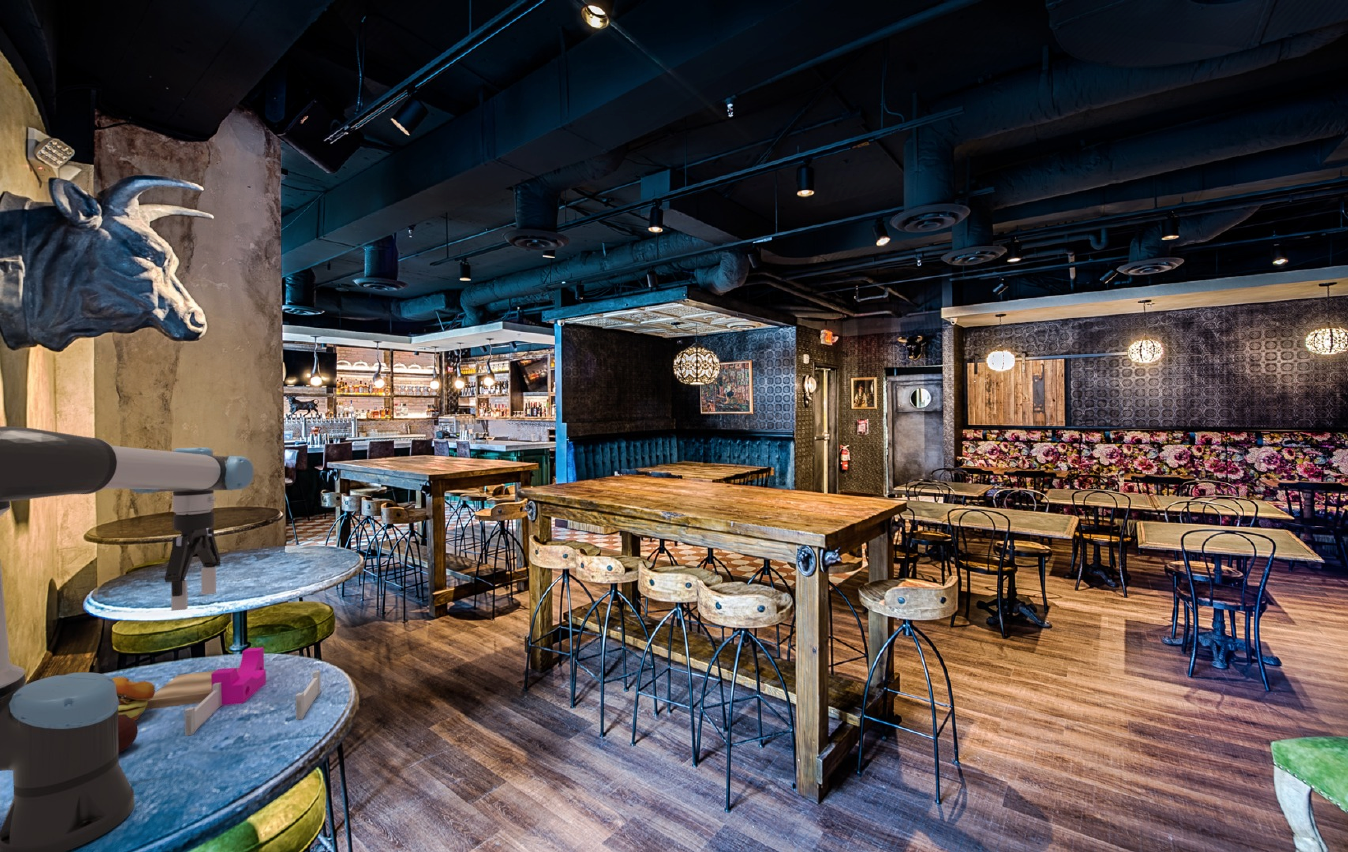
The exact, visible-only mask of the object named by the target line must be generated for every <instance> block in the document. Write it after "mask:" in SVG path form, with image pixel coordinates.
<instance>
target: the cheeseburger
mask: <svg viewBox="0 0 1348 852" xmlns="http://www.w3.org/2000/svg"><path fill="white" fill-rule="evenodd" d="M111 679H112V680H113V681H114V682H115V685H116V692H117V696H118V701H119V706H118V715H125V716H127V717H130V718H132V719H134V721H135V722H136V720H138V719H139V718H140V716H141V715H142V714H143V713H144V711H145V710H146V709H145V708H146V706H147V703H148V700H150V699H152V698H153V696H154V694H155V693H156V689H155V685H154V684H153V683H152V682H149V681H145V680H143V681H142V680H141V681H137V682H135V681H133V680H130V679H129V678H127V677H126V676H125V677H123V676H115V677H111Z"/></svg>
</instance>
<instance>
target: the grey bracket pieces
mask: <svg viewBox="0 0 1348 852" xmlns="http://www.w3.org/2000/svg"><path fill="white" fill-rule="evenodd" d="M321 688H322V687H321V670H320V669H318V670H314V671H313V672H312V680H311V681H310V682H309V684H308V685H307V687H306V688H305V689H304V691H303V692H298V693H296V695H295V719H296V720H297V721H298V720H303V719H304V717H305V714H306V713H307V711H308V710H309V708H310V707H311V706H312V705H313V703H314V701H315V699H316V698H317V697H318V696H319V695H320V694H321V692H322V691H321V690H322V689H321ZM212 690H213V692H212V693H211V694H209V695H208V696H207V697H206V698H205V699H204V700H203V701H202V702H201V703H198V705H196V706H193V707H191V706H190V707H187V708H186V709H184V731H185V732H184V734H185V735H184V736H185V737H186V736H188V737H189V736H193V735H194V734H195V733H196V731H197V730H198V729H199V728H200V727H201V725H203V724H204V723H205V721H207V720H208V719H209V718H210V717H211V716H212V715H213V714H214V713H215V712H216V710H218V709H219V708H220V707H221V706H223V705H222V694H221V682H220V683H215V684H213V685H212Z"/></svg>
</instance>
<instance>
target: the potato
mask: <svg viewBox="0 0 1348 852" xmlns="http://www.w3.org/2000/svg"><path fill="white" fill-rule="evenodd" d="M138 729H139V728H138V723H137V722H136V720H135V721H134V719H132V718H130V717H127V716H125V715H118V754H120V753H122V752H124V751H126V750H127V749H128V748H130V746H132V745H133V743H134V742H135V740H136V739H137V737H138V733H139V732H138V731H139V730H138Z"/></svg>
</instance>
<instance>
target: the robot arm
mask: <svg viewBox="0 0 1348 852" xmlns="http://www.w3.org/2000/svg"><path fill="white" fill-rule="evenodd" d="M254 471H255V470H254V464H253V463H252V461H251V460H250V459H249V458H248V457H246V456H239V455H236V456H235V455H227V456H225V455H224V456H221V455H219V456H218V455H214V451H213V450H212V449H211V448H210V447H178V448H177V447H176V448H174V449H173V451H170V450H169V451H168V450H161V449H160V450H158V449H150V448H138V447H128V446H118V445H111V443H109V442H107V441H106V440H103V439H101V438H97V437H91V436H90V437H89V436H88V437H87V436H82V435H77V434H69V433H63V432H57V431H53V430H52V431H51V430H44V429H37V428H33V427H32V428H31V427H23V426H10V425H9V426H6V425H5V426H0V517H1V516H3V515H4V514H5V513H6V512H8V511H9V510H10V509H11V502H15V501H23V500H31V499H32V500H33V499H39V498H40V499H41V498H48V497H58V496H68V495H90V494H94V493H97V492H100V491H102V490H104V489H108V490H109V489H111V490H113V489H115V490H121V489H122V490H129V491H132V492H133V493H137V494H155V493H162V492H172V512H173V513H175V514H174V515H173V518H172V524H173V527H172V528H173V530H174V531H177V532H179V531H180V532H181V534H180V536H174V537H173V538H172V545H171V546H172V547H171V550H170V554H169V560H168V564H167V567H166V572H165V576H164V582H165V583H170V589H171V591H170V593H171V597H170V598H171V603H170V604H171V609H170V611H182V610H183V611H184V610H187V609H188V579H186V576H187V573H188V571H189V568H190V566H191V563H192V560H193V558H194V556H195V555H196V554H197V556H198V559H199V560H200V562H201V564H202V566H203V567H202V568H201V570H200V571H201V578H200V579H201V582H200V583H201V595H211V594H213V595H214V594H216V593H217V578H216V577H217V571H216V570H217V567H220V566H221V564H222V562H221V557H220V556H221V555H220V552H219V548H218V545H217V541H216V538H215V529H214V525H215V512H213V511H212V510H214V507H215V506H214V505H215V503H214V502H216V497H214V496H215V494H214V492H215V491H235V490H236V491H238V490H243V489H245V488H247V487H249V486H250V485H251V483H252V481H253V478H254ZM1 564H2V563H1V560H0V772H2V771H3V772H4V771H12V780H13V783H12V784H13V797H12V799H11V803H10V806H9V808H8V810H7V813H6V816H5V819H4V821H3V824H2V826H1V828H0V852H68V851H71V850H73V849H76V848H78V847H80V846H81V847H82V846H83V845H86V844H87V843H89V842H91V841H93V840H96V839H97V838H99V837H100V836H103V835H104V834H106V833H108V832H109V831H111V830H113V829H114V828H115V827H117V826H119V825H120V824H121V823H123V822H124V821H125V820H126V818H128V816H129V815H130V814H131V813H132V812H133V810H134V808H135V792H134V788H133V787H132V785H131V784H130V782H129V779H128V778H127V776H126V774H125V773H124V770H123V769H122V766H121V765H120V762H119V761H120V760H119V753H118V706H119V701H118V696H117V692H116V685H115V682H114V681H113V680H112V677H110V676H108V675H105V674H102V673H97V672H88V671H87V672H85V671H84V672H72V673H71V672H70V673H69V672H68V673H67V674H65V675H61V674H57V675H52V676H48V677H45V678H44V677H43V678H41V679H38V680H35V681H32V682H30V683H27V681H26V680H27V679H26V671H25V668H23V667H21V666H18V665H15V664H13V663H11V662H10V661H11V660H10V653H9V652H10V650H9V640H8V629H7V619H6V618H7V617H6V605H5V596H4V595H5V594H4V585H3V584H4V583H3V575H2V573H3V572H2V565H1Z"/></svg>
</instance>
